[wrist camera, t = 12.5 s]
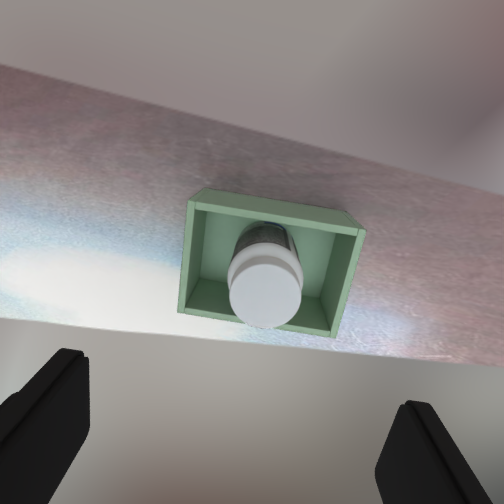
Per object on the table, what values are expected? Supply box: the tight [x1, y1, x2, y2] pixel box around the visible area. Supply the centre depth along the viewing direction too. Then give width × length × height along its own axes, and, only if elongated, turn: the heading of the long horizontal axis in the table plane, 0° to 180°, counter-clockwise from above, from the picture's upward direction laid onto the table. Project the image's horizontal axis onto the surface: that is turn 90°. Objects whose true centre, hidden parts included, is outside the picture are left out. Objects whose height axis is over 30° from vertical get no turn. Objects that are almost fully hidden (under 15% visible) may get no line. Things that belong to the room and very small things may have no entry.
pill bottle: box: [227, 221, 304, 329], centre depth 22 cm, size 5×5×8 cm
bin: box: [177, 188, 366, 338], centre depth 24 cm, size 11×8×6 cm
